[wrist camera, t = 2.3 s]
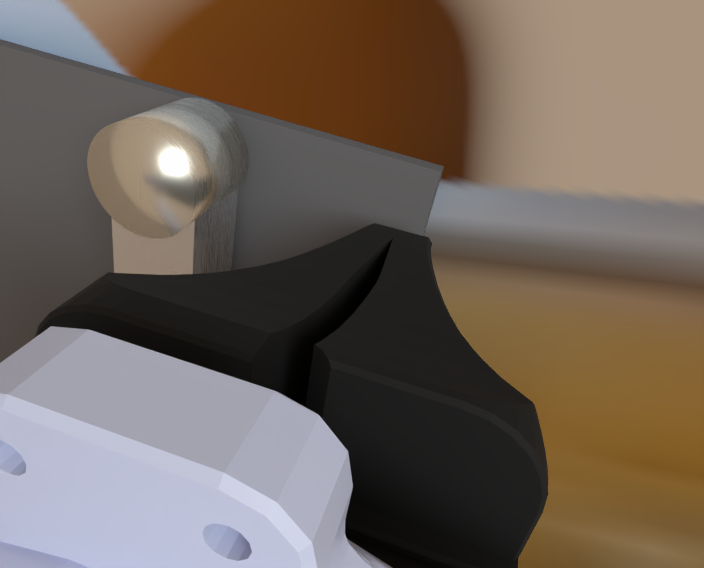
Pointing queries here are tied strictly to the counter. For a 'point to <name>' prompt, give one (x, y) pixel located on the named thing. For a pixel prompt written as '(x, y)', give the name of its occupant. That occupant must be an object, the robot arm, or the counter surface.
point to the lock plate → (96, 224)
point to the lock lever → (171, 187)
